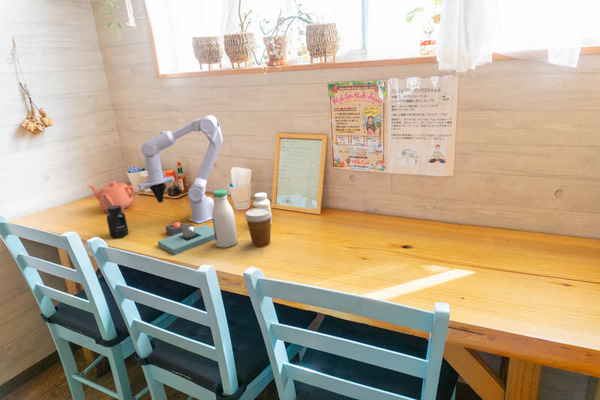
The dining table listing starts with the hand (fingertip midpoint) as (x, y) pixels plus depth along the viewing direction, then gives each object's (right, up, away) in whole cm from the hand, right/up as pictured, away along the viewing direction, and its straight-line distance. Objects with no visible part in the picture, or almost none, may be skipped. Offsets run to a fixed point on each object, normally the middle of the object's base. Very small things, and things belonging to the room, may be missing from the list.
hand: (160, 201), depth 169 cm
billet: (+17, -15, -18) cm, 29 cm away
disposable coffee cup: (+44, -15, -24) cm, 52 cm away
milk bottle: (+32, -15, -22) cm, 41 cm away
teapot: (-30, -4, +25) cm, 39 cm away
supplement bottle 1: (-14, -14, -7) cm, 20 cm away
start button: (+10, -12, -9) cm, 18 cm away
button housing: (+10, -12, -9) cm, 18 cm away
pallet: (+17, -15, -18) cm, 29 cm away
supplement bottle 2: (+44, -9, -7) cm, 45 cm away
